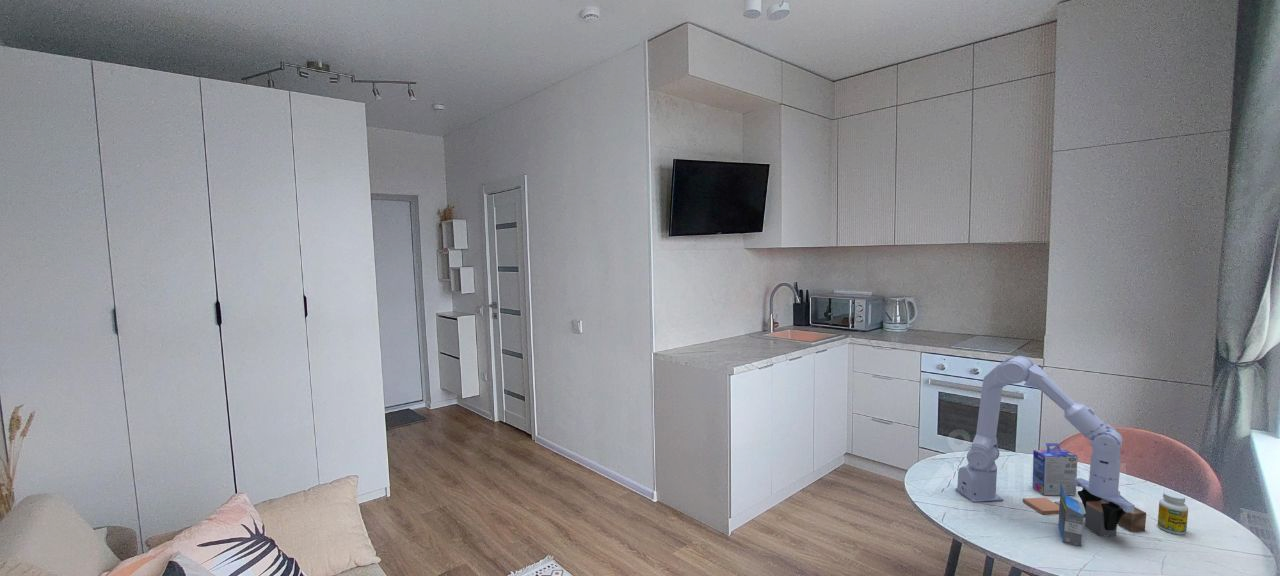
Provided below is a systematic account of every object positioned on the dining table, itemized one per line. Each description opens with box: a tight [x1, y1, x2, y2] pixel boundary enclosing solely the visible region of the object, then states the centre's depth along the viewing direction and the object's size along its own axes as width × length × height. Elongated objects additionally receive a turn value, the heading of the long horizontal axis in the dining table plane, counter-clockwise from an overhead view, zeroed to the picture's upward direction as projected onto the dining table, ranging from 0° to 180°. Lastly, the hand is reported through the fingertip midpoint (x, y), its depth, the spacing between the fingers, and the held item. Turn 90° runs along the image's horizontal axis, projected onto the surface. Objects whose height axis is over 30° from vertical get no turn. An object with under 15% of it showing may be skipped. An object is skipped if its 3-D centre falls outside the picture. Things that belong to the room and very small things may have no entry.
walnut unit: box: [1081, 498, 1147, 533], centre depth 143 cm, size 4×14×5 cm, turn 4°
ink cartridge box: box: [1032, 442, 1079, 496], centre depth 157 cm, size 10×6×14 cm, turn 89°
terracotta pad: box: [1022, 496, 1060, 515], centre depth 148 cm, size 7×7×1 cm
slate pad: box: [1053, 499, 1086, 518], centre depth 146 cm, size 7×7×1 cm
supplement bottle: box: [1157, 490, 1189, 535], centre depth 136 cm, size 5×5×10 cm
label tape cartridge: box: [1057, 483, 1085, 547], centre depth 134 cm, size 9×4×12 cm, turn 148°
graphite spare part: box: [1084, 501, 1118, 537], centre depth 136 cm, size 4×4×7 cm
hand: (1100, 524), depth 136 cm, fingers closed on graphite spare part, 4 cm apart
